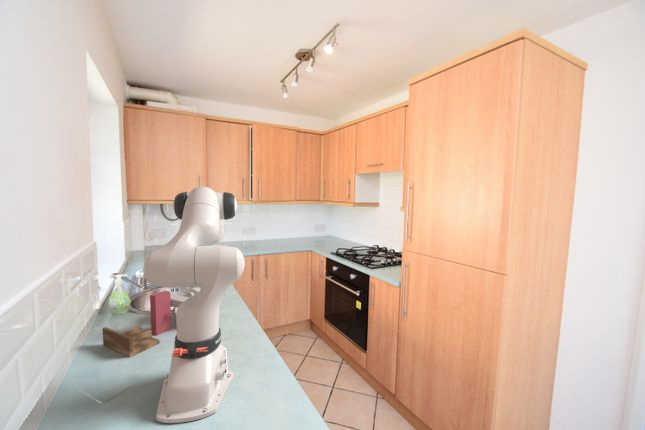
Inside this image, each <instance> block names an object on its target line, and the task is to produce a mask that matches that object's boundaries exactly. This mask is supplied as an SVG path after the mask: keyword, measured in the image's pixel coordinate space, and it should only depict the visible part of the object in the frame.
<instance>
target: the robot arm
mask: <svg viewBox="0 0 645 430" xmlns="http://www.w3.org/2000/svg"><path fill="white" fill-rule="evenodd" d="M172 209H173V212H174V214H175V217H176V218H178V219H179V220H181V223H180V224H179V225H180V226H179V228H178V231H177V233H176V234H175V235H173V237H172V238H171V239H170V240H169V241H168V242H167V243H166V244H164V245H163V246H161V247H159V248H157V249H154V250H152V252H150V253H149V254H148V255H147V257H146V259H145V261H144V263H143V268H142V269H143V270H142V271H143V276H144V278H145V280H146V281H147V283H148V284H149V285H151V286H152V287H156V288H157V287H159V288H168V289H172V288H173V289H174V288H185V287H190V288H189V289H188V290H187V291H186V293H185V292H182V291H181V292H179V291H178V292H177V291H176V292H171V293H170V301H171V307H172V312H173V313H174V314H175V319H176V321H175V323H176V324H175V325H176V328H175V329H176V335H175V336H174V343H173V345H174V346H173V347H174V348H173V351H172V353H171V361H170V367H169V372H168V373H167V374H166V378H165V379H164V380H163V383H162V387H161V391H160V396H159V399H158V405H157V410H156V414H155V420H156V421H157V422H158V423H162V424H179V423H185V422H186V423H187V422H192V421H193V422H194V421H196V420H201V419H204V418H206V417H209V416H211V415H213V414H215V413H216V412H217V411H218V409H219V408H220V405H221V404H222V401H223V399H224V398H225V395H226V393H227V391H228V389H229V387H230V385H231V384H232V381H233V379H234V376H235V375H234V372H233V370H229V369H228V355H227V353H228V352H227V348H226V347H225V346H223V344H222V333H221V331H222V330H221V327H220V309H221V308H220V307H221V302H222V300H223V297H224V296H225V295H227V294H228V292H229V288H230V287H231V286H232V285H233V284H234V283H235V282H236V281H238V280H239V279H240V278H241V277H242V275H243V273H244V271H245V267H246V259H245V256H244V254H243V252H242V250H240V248H238V247H236V246H230V245H223V244H222V245H220V244H219V245H215V244H217V243H219V242H221V240H222V239H223V238H224V235H225V232H226V231H225V221H227V220H231V219H233V218H235V216H236V214H237V211H238V202H237V199H236V197H235V195H234V194H233V193H231V192H227V191H224V192H219V191H218V192H217V191H215V190H213V189H212V188H211V187H208V186H197V187H195V188H193V189H191V191H190V192H188V191H183V192H179V193H177V194H176V196H174V200H173V204H172ZM191 287H192V288H191Z"/></svg>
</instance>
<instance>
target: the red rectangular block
mask: <svg viewBox="0 0 645 430" xmlns="http://www.w3.org/2000/svg"><path fill="white" fill-rule="evenodd" d="M170 294H171V291H168V290H162V291H159V292H156V293H153V294H150V295H149V302H150V304H149V305H150V308H149V309H150V330H152V335H153V336H158V335H161V334H164V333H165V332H167V331H170V330H172V310H171V309H172V308H171V301H170Z"/></svg>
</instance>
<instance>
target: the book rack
mask: <svg viewBox="0 0 645 430" xmlns="http://www.w3.org/2000/svg"><path fill="white" fill-rule="evenodd" d="M142 331H143V329H142V326H140V325H139V326H136V327H133V328H131V329H129V330H127V331H123V332H119V331H117V330H114V329H111V328H109V327H108V326H105V327H102V345H103V347H106V348H108V349H111V350H113V351H115V352H117V353H119V354H121V355H124V356H125V357H128V358H132V357H133V356H136V355H139V354H140V353H142V352H144V351H146V350H149V349H150V348H153V347H155V346H157V345H158V344H160V339H158V338H155V337H153V334H152V330H151V329H148V330H146V331H144V332H142Z"/></svg>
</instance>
